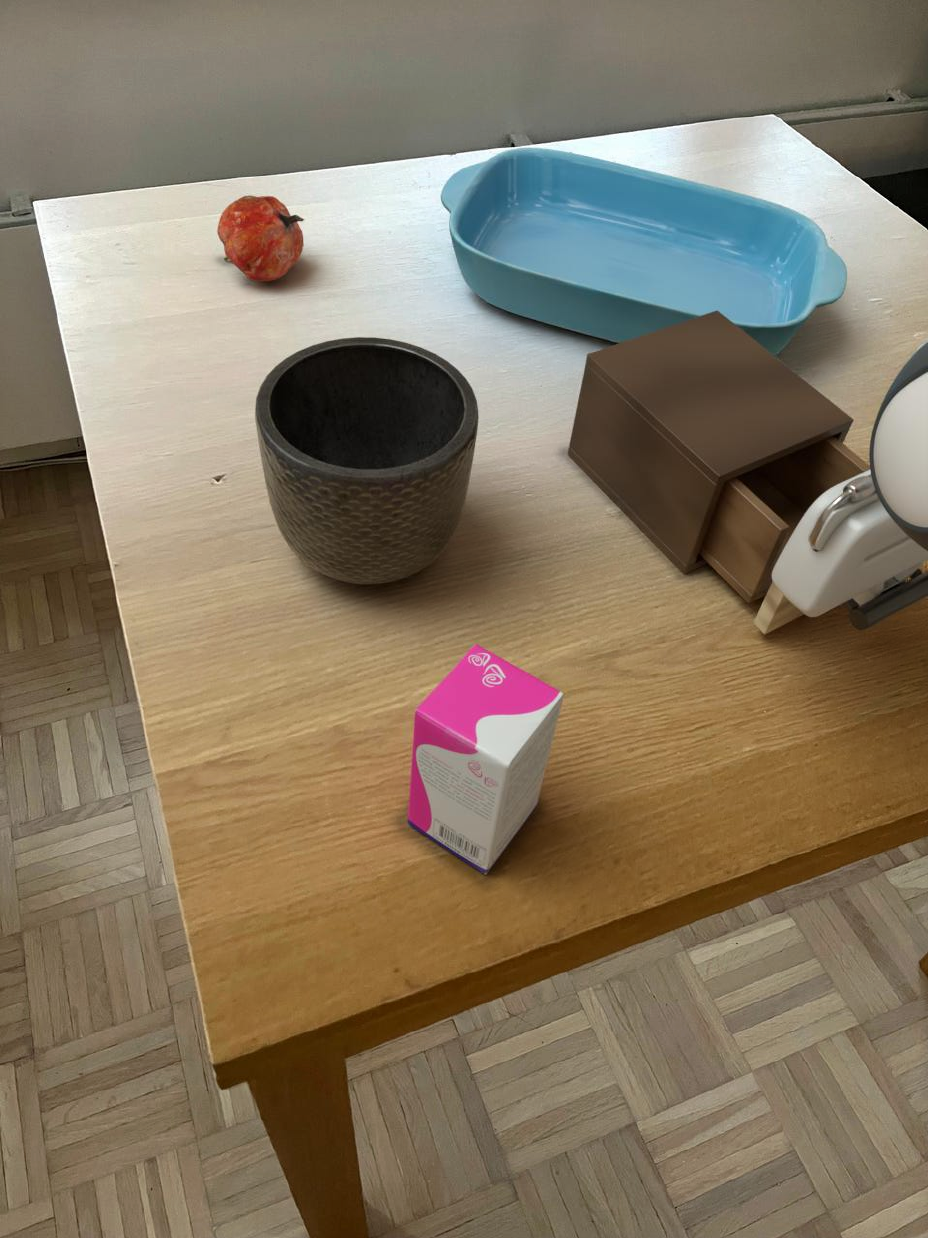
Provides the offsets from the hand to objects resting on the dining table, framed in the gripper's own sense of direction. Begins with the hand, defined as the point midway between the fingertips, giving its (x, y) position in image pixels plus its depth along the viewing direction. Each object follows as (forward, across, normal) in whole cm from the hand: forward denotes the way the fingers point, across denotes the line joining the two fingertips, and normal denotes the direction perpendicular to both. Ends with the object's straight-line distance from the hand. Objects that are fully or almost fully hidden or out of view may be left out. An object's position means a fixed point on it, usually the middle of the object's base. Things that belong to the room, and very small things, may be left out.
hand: (870, 595), depth 68 cm
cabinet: (+4, 0, +17) cm, 18 cm away
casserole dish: (+5, +12, +40) cm, 42 cm away
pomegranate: (+4, -17, +58) cm, 61 cm away
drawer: (+4, 0, +7) cm, 8 cm away
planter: (+5, -25, +23) cm, 35 cm away
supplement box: (+5, -30, +1) cm, 30 cm away
